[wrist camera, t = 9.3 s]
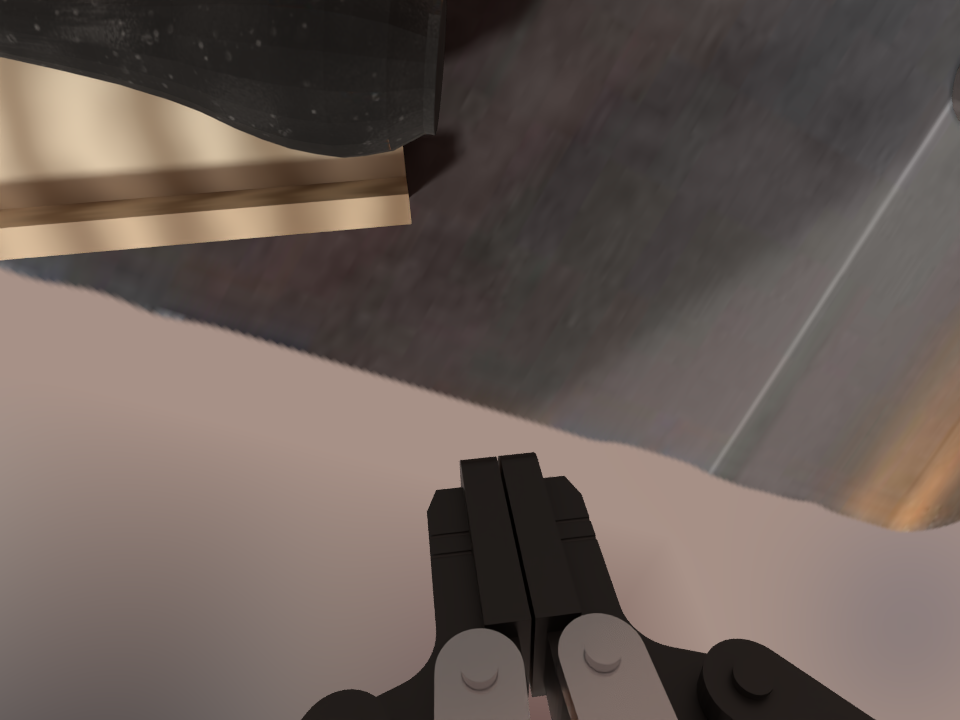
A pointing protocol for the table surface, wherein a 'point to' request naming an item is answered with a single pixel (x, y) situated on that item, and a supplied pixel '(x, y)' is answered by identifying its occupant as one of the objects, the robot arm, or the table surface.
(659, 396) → the table surface
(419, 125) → the bottle
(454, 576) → the robot arm
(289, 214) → the trough
